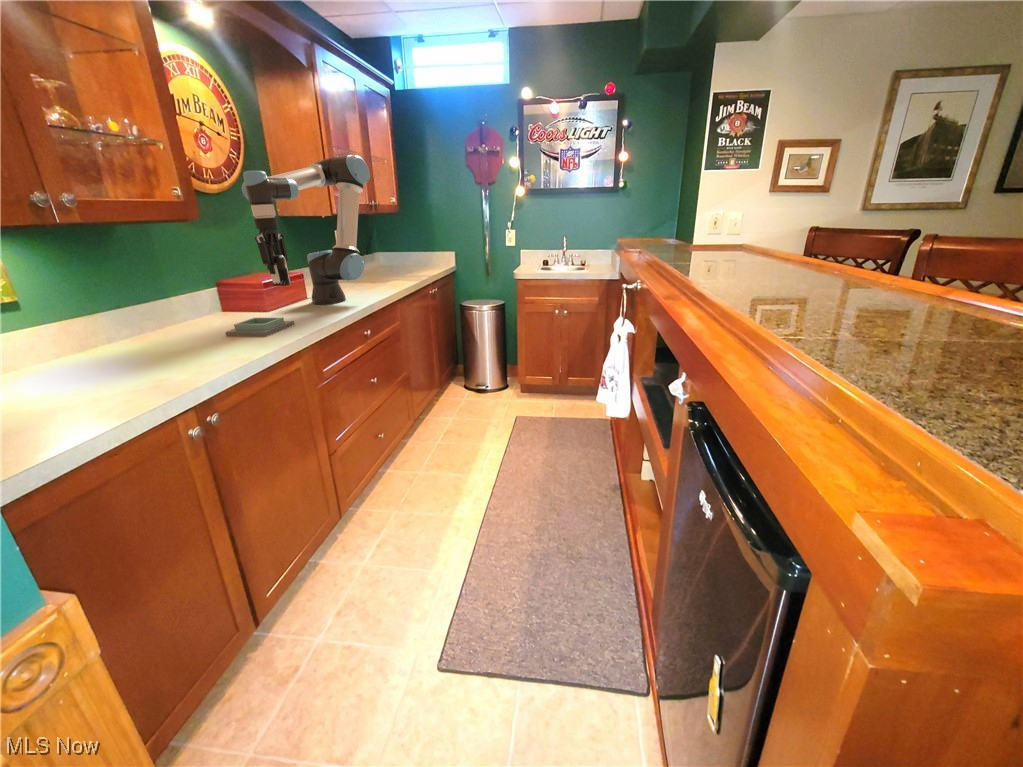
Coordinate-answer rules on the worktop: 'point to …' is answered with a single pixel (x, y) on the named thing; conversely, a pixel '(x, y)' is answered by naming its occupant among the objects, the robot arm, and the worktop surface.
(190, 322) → the worktop surface
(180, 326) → the worktop surface
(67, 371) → the worktop surface
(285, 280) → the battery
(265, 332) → the dock
